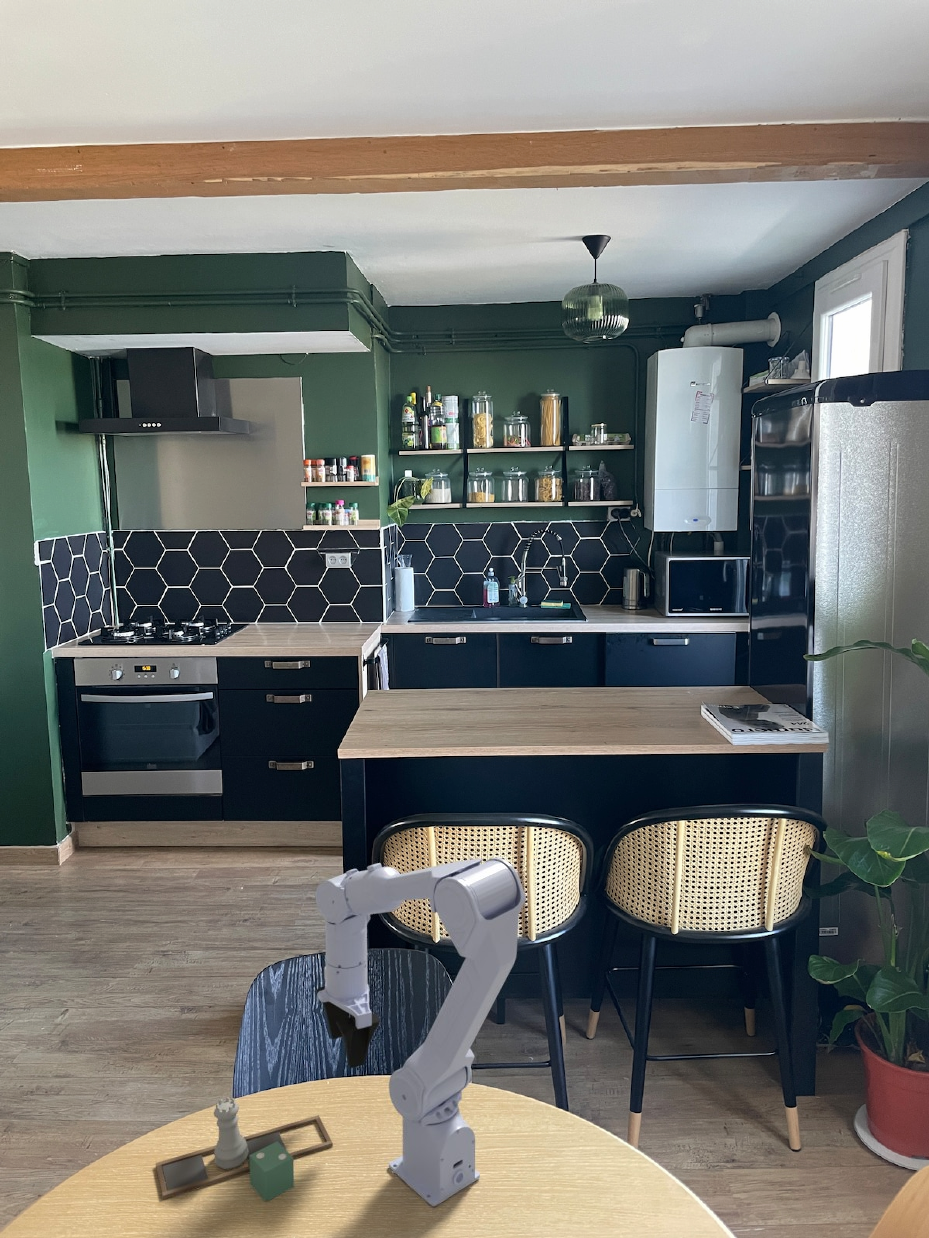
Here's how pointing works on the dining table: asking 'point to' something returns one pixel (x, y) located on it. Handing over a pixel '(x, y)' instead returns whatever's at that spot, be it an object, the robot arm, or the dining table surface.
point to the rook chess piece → (229, 1136)
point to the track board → (192, 1173)
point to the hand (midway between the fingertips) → (347, 1050)
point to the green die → (271, 1171)
